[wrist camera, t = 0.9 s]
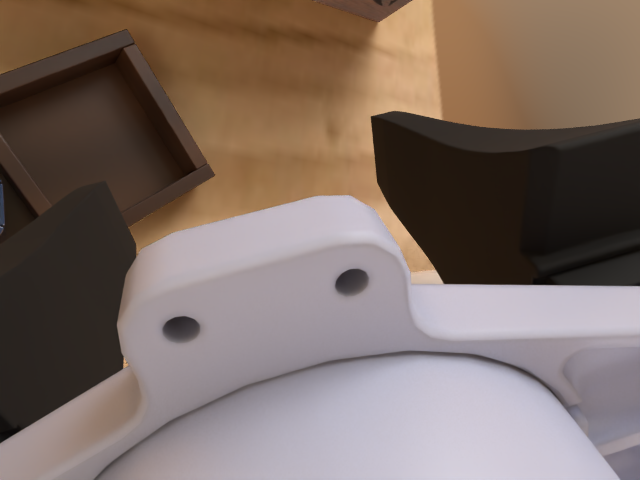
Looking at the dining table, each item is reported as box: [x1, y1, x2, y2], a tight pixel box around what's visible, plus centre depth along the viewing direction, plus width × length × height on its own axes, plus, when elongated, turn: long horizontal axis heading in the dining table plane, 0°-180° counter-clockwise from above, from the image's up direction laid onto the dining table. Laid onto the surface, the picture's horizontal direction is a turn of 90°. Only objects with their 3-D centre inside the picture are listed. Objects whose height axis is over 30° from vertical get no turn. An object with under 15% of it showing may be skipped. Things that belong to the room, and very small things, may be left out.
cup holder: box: [0, 29, 215, 241], centre depth 20 cm, size 8×15×2 cm, turn 124°
